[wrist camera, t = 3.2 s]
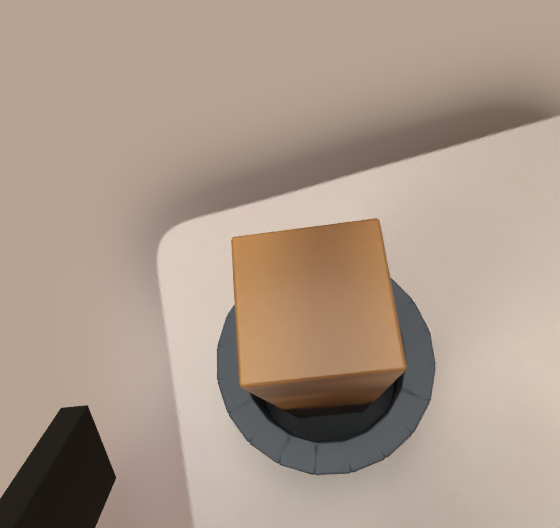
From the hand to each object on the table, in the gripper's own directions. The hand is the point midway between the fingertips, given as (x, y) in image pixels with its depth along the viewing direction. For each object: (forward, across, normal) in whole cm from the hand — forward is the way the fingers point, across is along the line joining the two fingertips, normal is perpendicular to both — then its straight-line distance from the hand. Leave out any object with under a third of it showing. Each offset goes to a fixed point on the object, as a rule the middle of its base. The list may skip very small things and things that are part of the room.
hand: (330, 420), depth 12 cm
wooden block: (+13, 0, -9) cm, 16 cm away
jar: (+14, 0, -10) cm, 17 cm away
